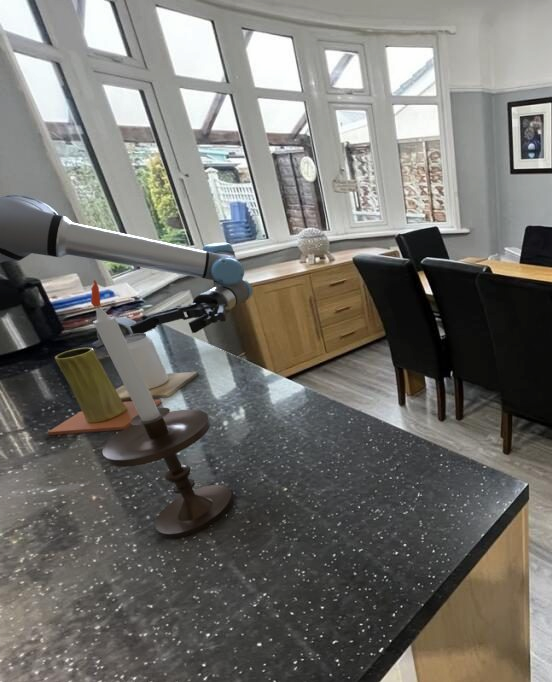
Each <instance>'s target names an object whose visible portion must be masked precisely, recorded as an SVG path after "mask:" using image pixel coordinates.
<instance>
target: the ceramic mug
mask: <svg viewBox="0 0 552 682" xmlns="http://www.w3.org/2000/svg"><path fill="white" fill-rule="evenodd" d="M115 319H116V321H117V323H118V325H119V327H120V330H121V332H122V334H123V336H127V335H132V334H133V332H132V330H131V328H130V326H132V325H134V324H136V323H137V322H136V321H135V320H133V319H132V318H129V317H115ZM96 336H97V339H98V340H96V341H94V342H93V343H92V346H94V348H96V349H97V348H100V347H102V346H104V343H103V341H102V339H101V337H100V335H99V333H98V331H97V330H96Z"/></svg>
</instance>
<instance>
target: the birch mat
mask: <svg viewBox="0 0 552 682" xmlns="http://www.w3.org/2000/svg"><path fill="white" fill-rule="evenodd" d="M167 375H168V378H169V379H168V381H167V382H166V383H165V384H163V385H162V386H159V387H157V388H154V389H150V390H149V391H150V394H151V396H152V398H153V399H164V398H165V399H166V398H170V397H171V396H172V395H173V394H174V393H176V392H177V391H179V390H180V389H181V388H183V387H184V386H185V385H187V384H188V383H189V382H191V381H192V380H193V379H195V378H196V377H197V376H198V375H199V371H186V372H171V373H167ZM115 390H116V392H117V393H118V395H119V397H120V398H121V400H122V402H125V401H132V400H131V398H130V396H129V394H128V392H127V390H126V388H125V386H124V384H123V385H120V386H119V387H117V388H115Z"/></svg>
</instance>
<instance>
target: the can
mask: <svg viewBox="0 0 552 682" xmlns="http://www.w3.org/2000/svg"><path fill="white" fill-rule="evenodd" d="M124 338H125V340H126V342H127V345H128V347H129V349H130V351H131V353H132V355H133V357H134V359H135V362H136V364H137V366H138V368H139V370H140V372H141V374H142V377H143V379H144V381H145V383H146V385H147V387H148V389H149V390H150V389H154V388H157V387H159V386H162V385H163V384H165V383H166V382H167V381H168V379H169V378H168V375H167V374H168V373H167V371H166V368H165V366H164V364H163V362H162V360H161V357H160V355H159V352H158V351H157V347H156V346H155V343H154V341H153V339H152V338H150V337H149V336H148V334H147V333H146V332H145V333H138V334H132V335H127V336H124Z"/></svg>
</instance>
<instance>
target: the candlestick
mask: <svg viewBox="0 0 552 682" xmlns="http://www.w3.org/2000/svg"><path fill="white" fill-rule="evenodd" d="M90 290H91V296H90V302H91V303H90V304H91V305H92V306H93V307H95V313H96V319H95V320H93V321H92V323H93V325H94V327H95V330H96V332H97V331H98V333H99V335H100V337H101V339H102V341H103V343H104V344H103V346H104V347H105V349H106V352H107V353H108V355H109V357H110V359H111V362H112V364H113V366H114V368H115V370H116V371H117V373H118V376H119V378H120V380H121V382H122V383H123V385H124V386H125V388H126V390H127V392H128V394H129V396H130V398H131V400H130V401H132V402H133V404H134V406H135V408H136V410H137V412H138V414H139V415H137V416H135V417H134V418H133V419H132V420H131V421H130V423H131V424H132V425H131V426H129V427H128V428H126V429H124V430H120V431H119V432H118V433H117V434H115V435H114V436H112V437H111V438H110V439H109V440H108V441H107V442H106V443H105V444H104V446H103V447H102V451H101V452H102V454H103V457H104V459H105V460H106V462H107V464H109V465H111V466H114V467H119V468H128V467H136V466H141V465H147V464H151V463H154V462H157V461H160V460H163V461H164V462H165V464H166V467H167V468H168V470H167V472H165V474H164V479H165V480H166V481H167V482H170V483H172V484H174V486H173V488H172V490H173V492H174V494H180V496H178V497H177V498H175V499H174V500H172V501H171V502H170V503H169V504H167V505H166V506H165V507H164V508H163V509H162V510H161V511H160V512H159V514H158V515H157V517H156V519H155V521H154V527H155V529H156V531H157V533H158V535H159V536H161V537H162V538H164V539H171V540H172V539H181V538H185V537H188V536H192V535H195V534H197V533H199V532H202V531H203V530H206V529H207V528H209V527H210V526H213V524H215V523H216V522H217V521H219V520H220V519H222V517H223V516H224V515H226V513H227V512H228V511H229V509H230V508H231V507H232V504H233V502H234V497H233V494H232V490H231V489H230V488H229V487H227V486H225V485H221V484H212V485H211V484H210V485H206V486H202V487H198V488H195V489H193V488H194V486H195V485H196V481H195V480H194V479H193V478H189V476H190V474H191V467H190V466H189V465H187V464H181V461H180V460H179V458H178V455H177V454H178V453H179V452H181V451H184V450H185V449H187V448H189V447H191V446H192V445H194V444H195V443H197V442H198V441H199V440H201V439H202V438H203V437H204V436H205V435H206V433H207V432H208V431H209V430H210V429H211V420H210V417H209V415H208V414H207V413H206V412H205V411H203V410H200V409H188V408H187V409H179V410H172V411H171V410H170V409H171V408H168V407H158V405H157V406H156V404H155V402H154V400H155V399H154V398H152V396H151V394H150V391H149V389H148V387H147V385H146V383H145V381H144V379H143V377H142V374H141V372H140V370H139V368H138V366H137V364H136V362H135V359H134V357H133V355H132V353H131V351H130V349H129V347H128V345H127V342H126V340H125V338H124V336H123V334H122V332H121V330H120V327H119V325H118V323H117V321H116V319H115V318H116V317H115V316H109V314H108V313H107V312H106V311H104V309H103V308H102V307H101V305H102V303H101V294H100V288H99V286H98V282H97V280H95V279H93V285H92V287H91V289H90Z"/></svg>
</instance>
